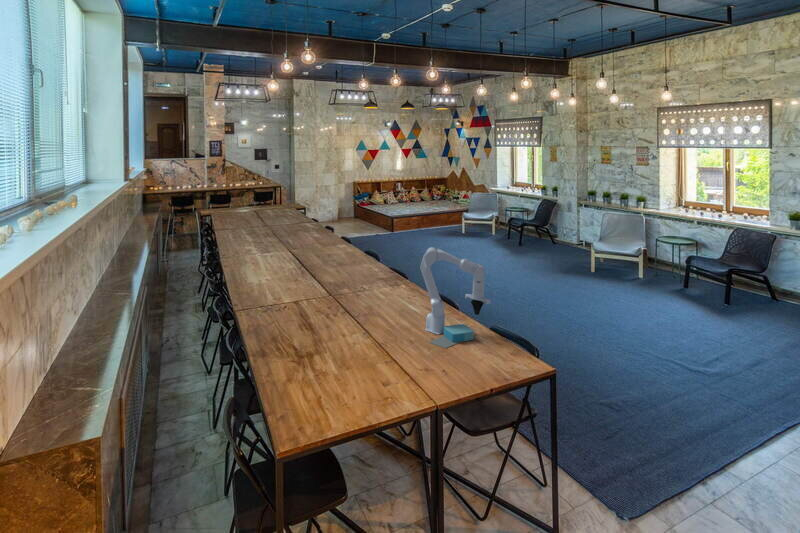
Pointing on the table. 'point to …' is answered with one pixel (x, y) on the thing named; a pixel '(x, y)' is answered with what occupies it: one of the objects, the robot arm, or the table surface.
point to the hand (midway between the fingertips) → (477, 314)
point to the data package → (458, 333)
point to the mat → (443, 342)
